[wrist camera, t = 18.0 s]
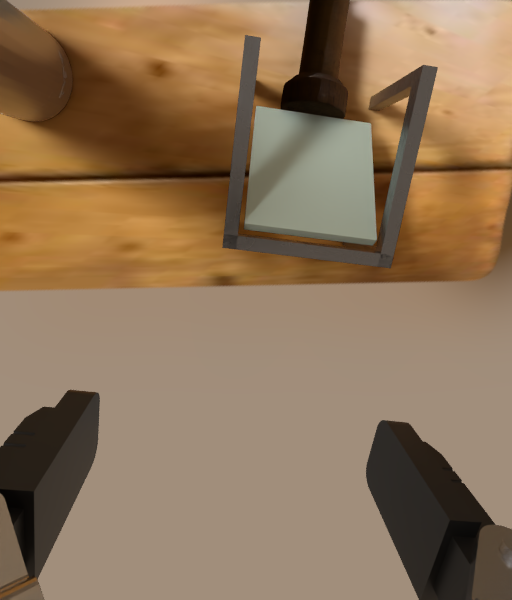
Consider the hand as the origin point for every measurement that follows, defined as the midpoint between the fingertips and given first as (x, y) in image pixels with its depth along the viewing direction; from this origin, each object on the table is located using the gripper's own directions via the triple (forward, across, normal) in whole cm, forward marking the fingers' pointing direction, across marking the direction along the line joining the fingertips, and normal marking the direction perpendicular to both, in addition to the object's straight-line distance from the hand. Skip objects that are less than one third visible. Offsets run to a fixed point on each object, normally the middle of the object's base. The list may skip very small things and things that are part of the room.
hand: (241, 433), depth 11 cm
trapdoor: (+30, +6, +8) cm, 32 cm away
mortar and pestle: (+34, +6, +14) cm, 37 cm away
